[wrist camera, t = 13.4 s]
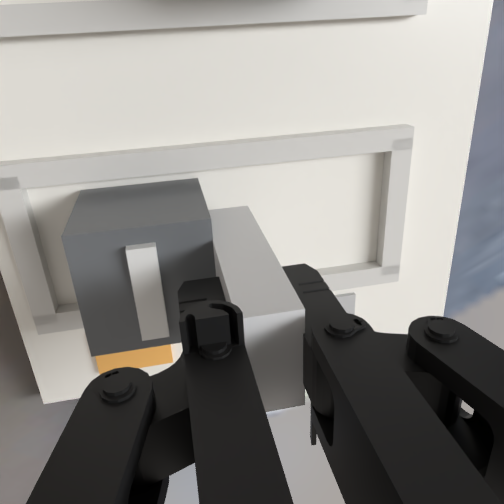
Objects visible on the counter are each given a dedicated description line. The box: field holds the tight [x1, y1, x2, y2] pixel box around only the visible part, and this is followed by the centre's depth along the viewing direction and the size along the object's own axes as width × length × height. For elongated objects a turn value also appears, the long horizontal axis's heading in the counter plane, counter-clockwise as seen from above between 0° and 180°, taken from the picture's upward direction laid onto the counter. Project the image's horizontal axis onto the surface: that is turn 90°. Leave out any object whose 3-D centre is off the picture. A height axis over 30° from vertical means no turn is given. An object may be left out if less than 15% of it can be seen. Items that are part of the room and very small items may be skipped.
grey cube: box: [61, 178, 216, 357], centre depth 15 cm, size 4×4×4 cm
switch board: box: [0, 0, 493, 404], centre depth 16 cm, size 24×18×2 cm
